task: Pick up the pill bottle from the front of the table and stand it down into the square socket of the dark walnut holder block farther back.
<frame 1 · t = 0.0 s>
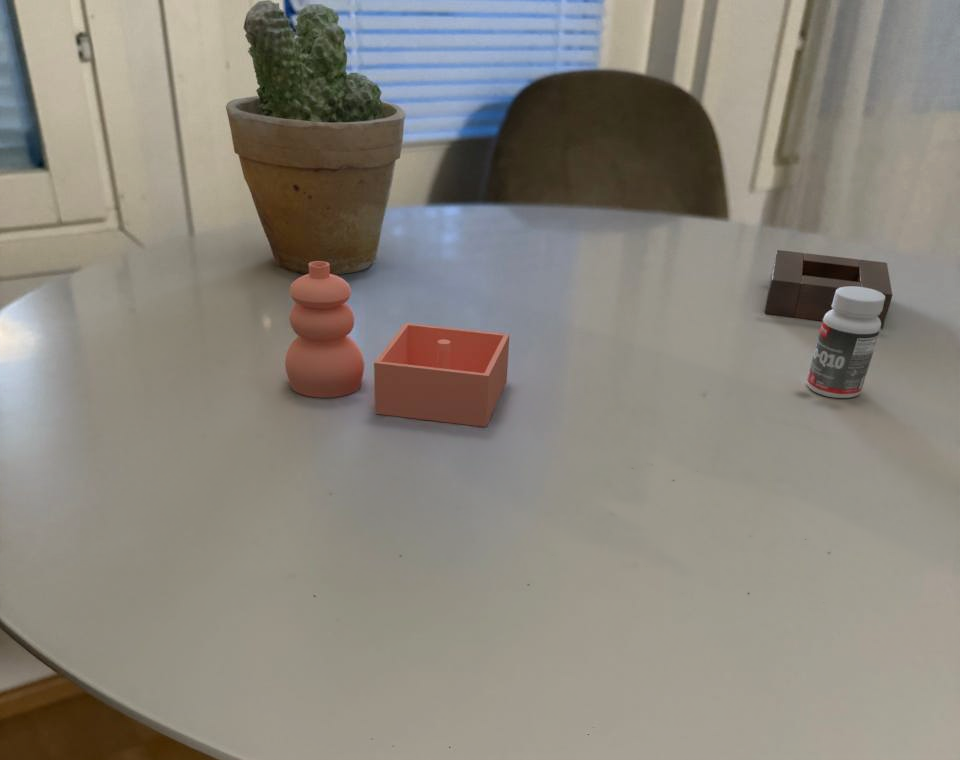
holder: (822, 303, 104), on the table
pottery: (391, 393, 80), on the table
potted plant: (326, 262, 109), on the table
pill bottle: (832, 390, 85), on the table
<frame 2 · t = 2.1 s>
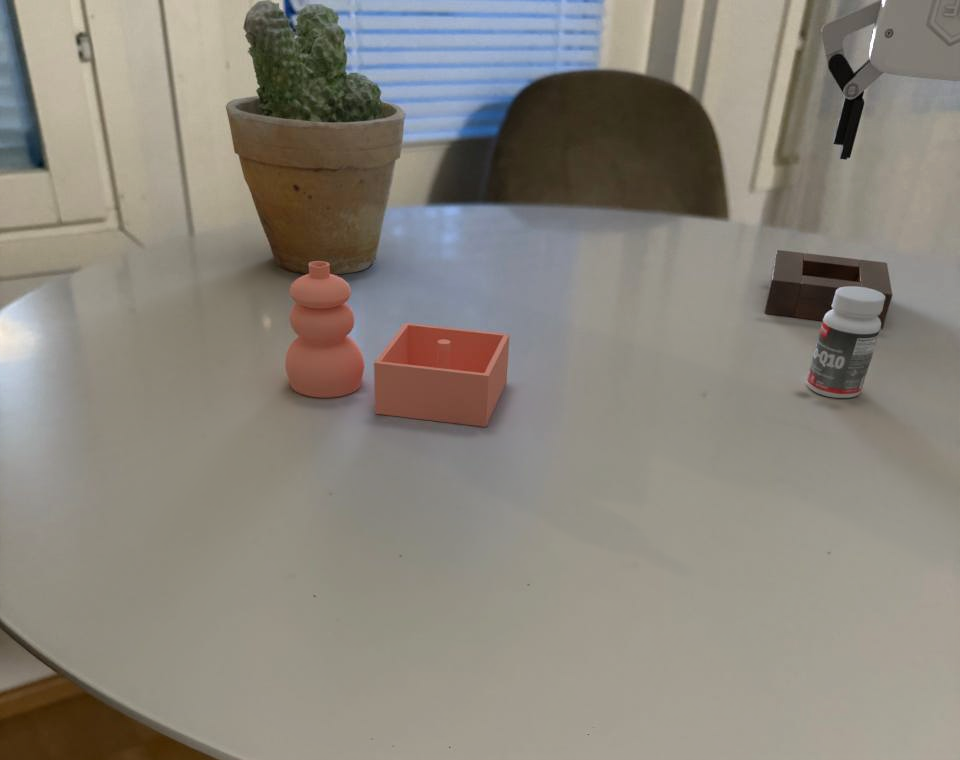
hand: (908, 163, 73), 18 cm above the table, tool pointing down, fingers open, 9 cm apart
nothing on the table moved.
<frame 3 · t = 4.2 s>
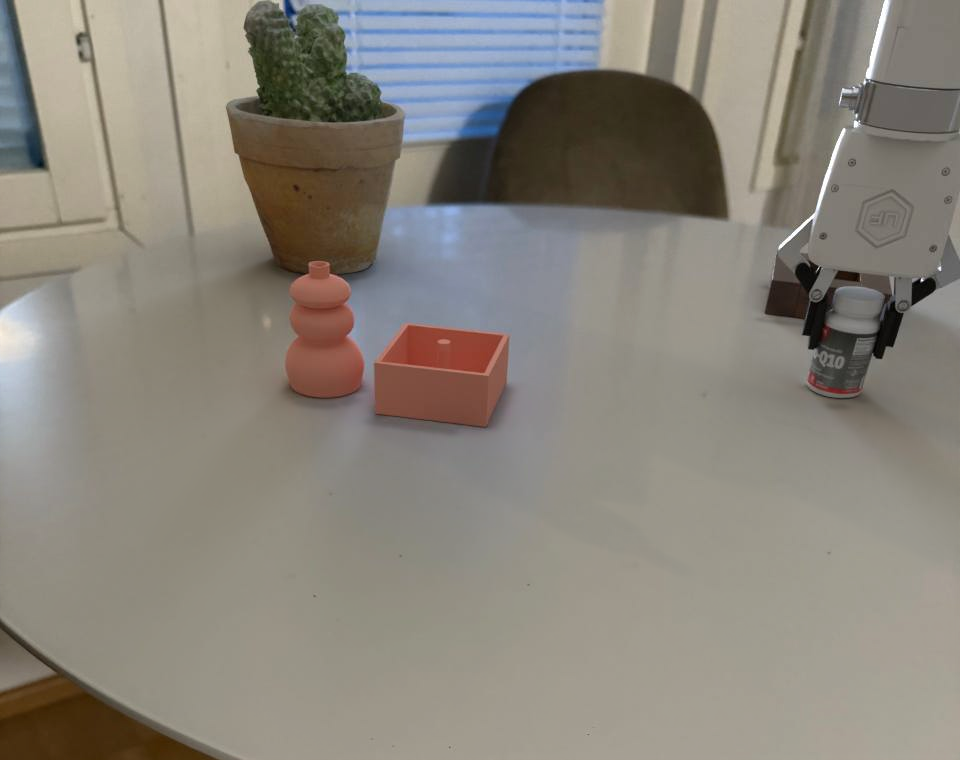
hand: (844, 346, 82), 4 cm above the table, tool pointing down, fingers closed on pill bottle, 4 cm apart
pill bottle: (832, 390, 85), on the table, touching gripper
everything else where it was.
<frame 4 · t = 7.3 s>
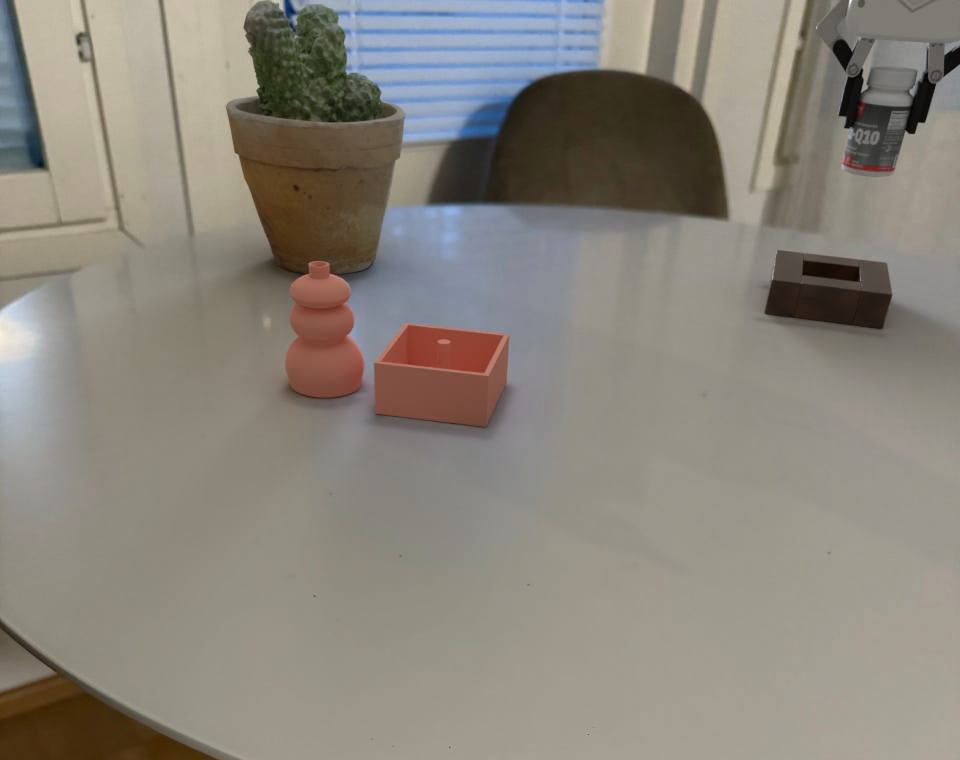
hand: (878, 126, 87), 18 cm above the table, tool pointing down, fingers closed on pill bottle, 4 cm apart
pill bottle: (866, 174, 89), point 14 cm above the table, touching gripper
everything else where it was.
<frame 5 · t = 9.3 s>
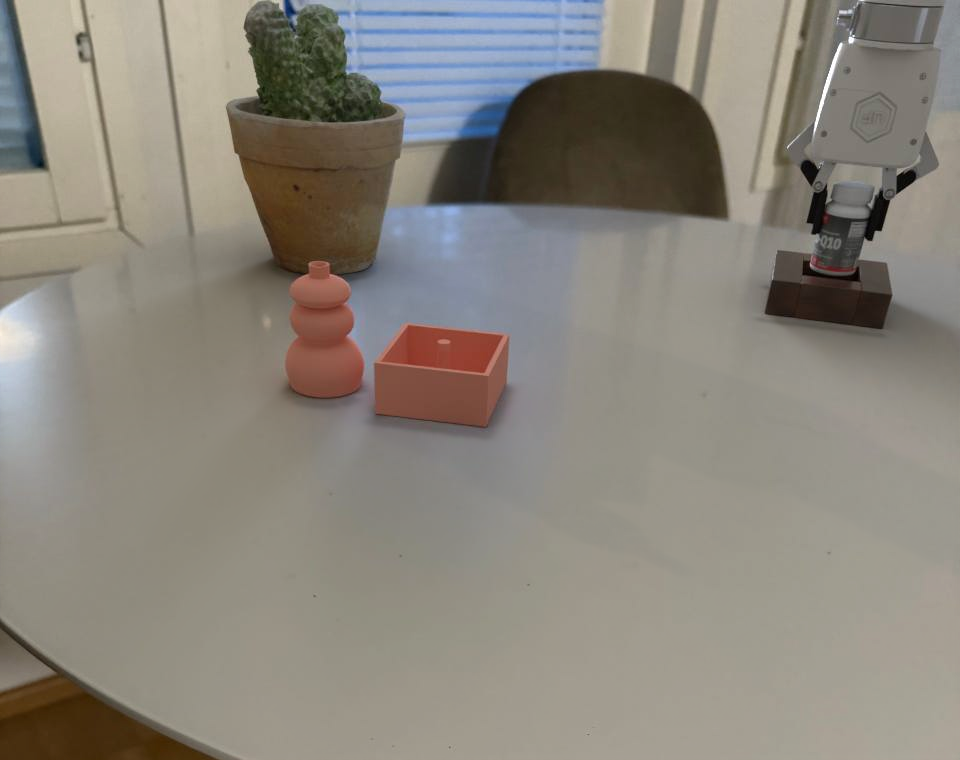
hand: (841, 232, 99), 7 cm above the table, tool pointing down, fingers closed on pill bottle, 4 cm apart
pill bottle: (831, 272, 102), point 3 cm above the table, touching gripper
everything else where it was.
when the fingers open (4 cm above the table, at t = 10.7 s): pill bottle stays where it is, resting in holder.
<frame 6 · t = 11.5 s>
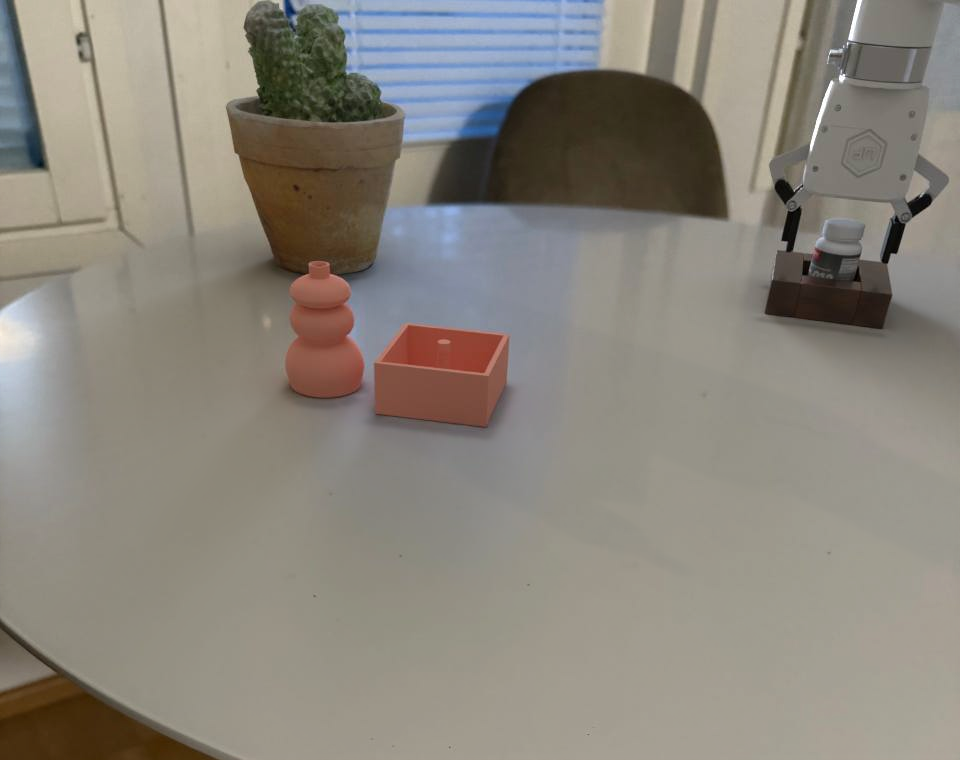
hand: (836, 254, 100), 5 cm above the table, tool pointing down, fingers open, 9 cm apart
pill bottle: (823, 305, 104), resting in holder
everything else where it was.
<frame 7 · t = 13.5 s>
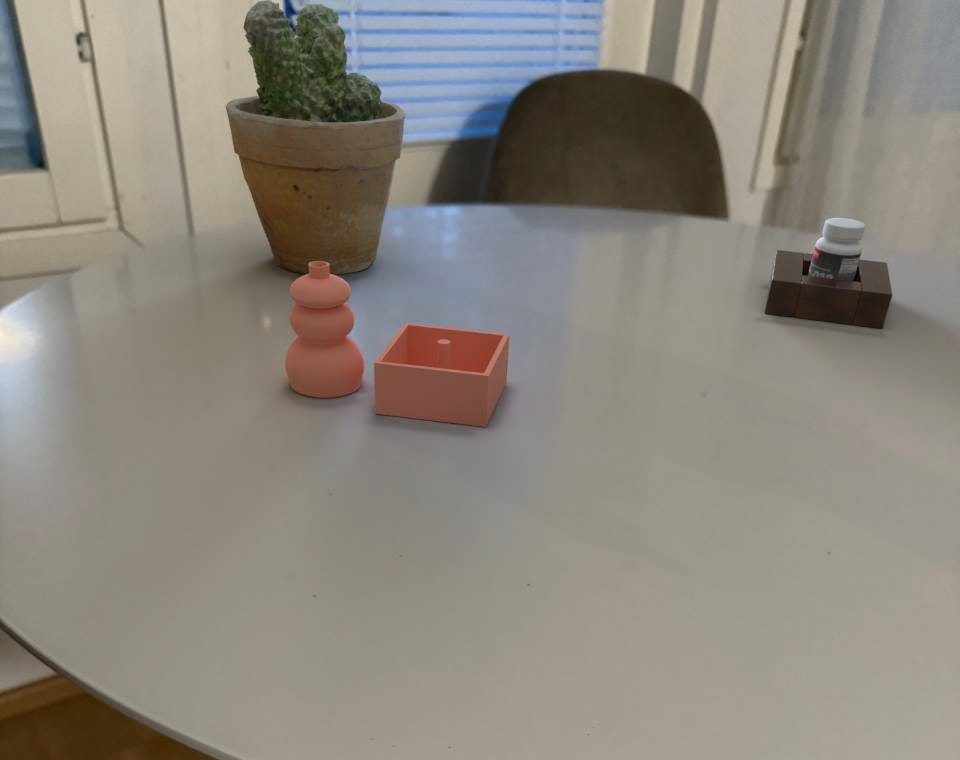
nothing on the table moved.
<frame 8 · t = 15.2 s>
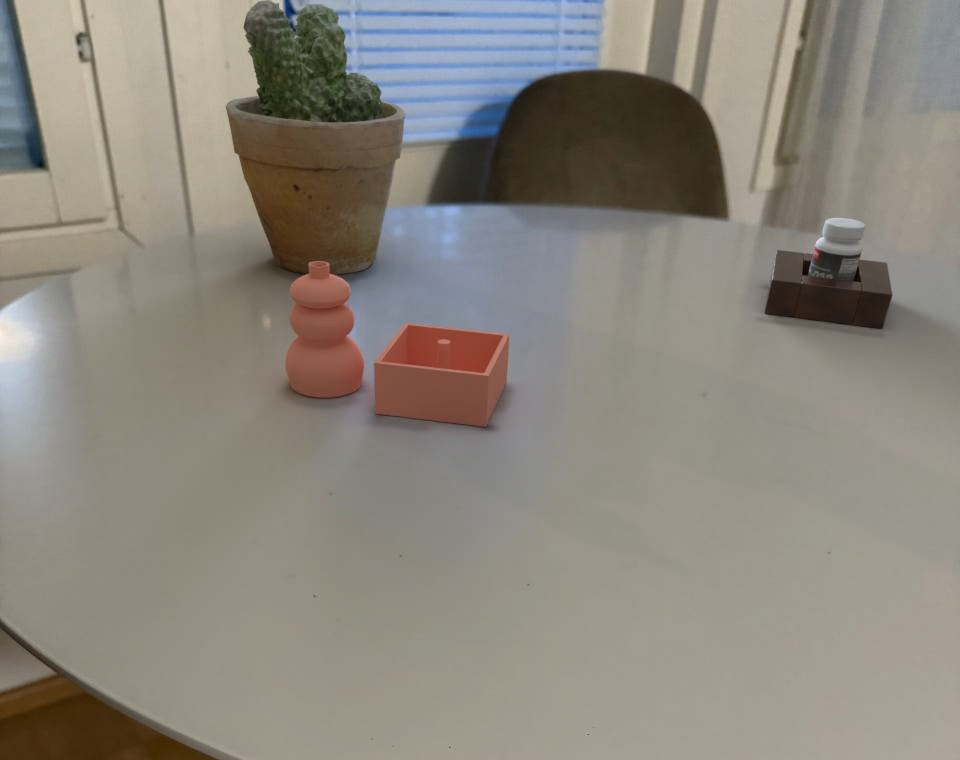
nothing on the table moved.
at the end: pill bottle 0.1 cm off-centre in the holder, point 0.0 cm above the holder's base; pill bottle tilted 0° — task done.
